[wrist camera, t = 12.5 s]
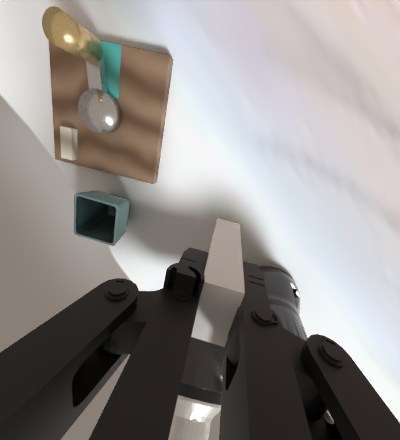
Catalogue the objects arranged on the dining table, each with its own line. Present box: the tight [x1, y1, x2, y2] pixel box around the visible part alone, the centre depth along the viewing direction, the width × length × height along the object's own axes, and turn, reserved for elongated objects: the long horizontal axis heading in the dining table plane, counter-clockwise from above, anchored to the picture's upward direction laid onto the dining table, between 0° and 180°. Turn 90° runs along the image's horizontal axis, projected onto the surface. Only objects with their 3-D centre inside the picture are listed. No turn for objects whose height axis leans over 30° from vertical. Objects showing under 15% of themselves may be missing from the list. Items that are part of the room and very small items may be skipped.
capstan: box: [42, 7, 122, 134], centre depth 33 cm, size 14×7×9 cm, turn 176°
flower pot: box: [74, 191, 130, 246], centre depth 43 cm, size 9×9×9 cm
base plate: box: [49, 40, 173, 184], centre depth 39 cm, size 22×22×4 cm
